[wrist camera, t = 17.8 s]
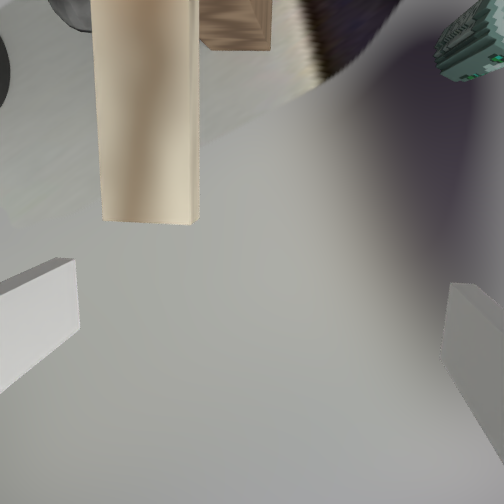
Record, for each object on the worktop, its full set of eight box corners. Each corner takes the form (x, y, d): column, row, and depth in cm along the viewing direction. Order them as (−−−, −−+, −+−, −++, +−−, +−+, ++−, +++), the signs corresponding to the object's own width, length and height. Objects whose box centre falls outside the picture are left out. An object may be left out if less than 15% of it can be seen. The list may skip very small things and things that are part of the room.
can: (471, 90, 49) (538, 68, 35) (423, 65, 49) (471, 32, 35) (503, 37, 48) (588, -10, 33) (454, 11, 48) (517, -47, 33)
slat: (117, 215, 26) (102, 220, 24) (97, -216, 21) (76, -253, 19) (199, 219, 26) (190, 225, 24) (198, -223, 20) (187, -261, 19)
